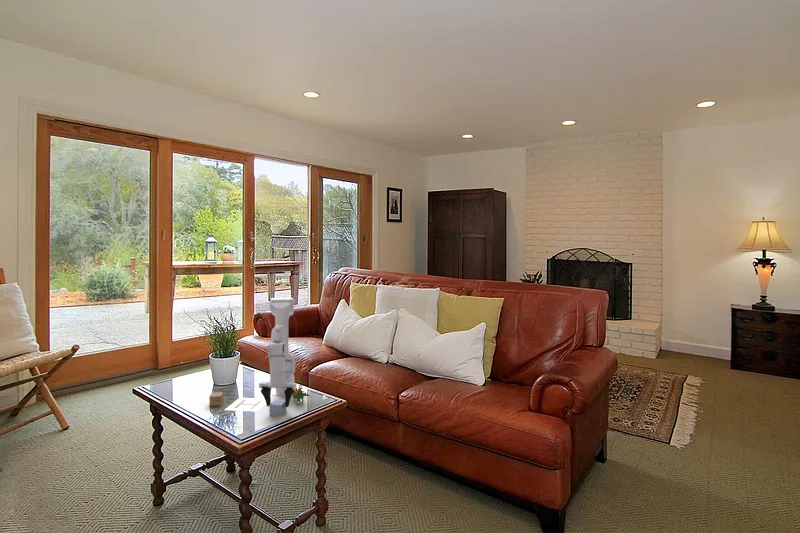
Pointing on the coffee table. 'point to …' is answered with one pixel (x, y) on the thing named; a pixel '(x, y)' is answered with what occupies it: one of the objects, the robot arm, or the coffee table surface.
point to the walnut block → (216, 399)
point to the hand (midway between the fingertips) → (277, 405)
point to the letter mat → (247, 404)
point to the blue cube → (277, 408)
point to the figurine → (299, 394)
